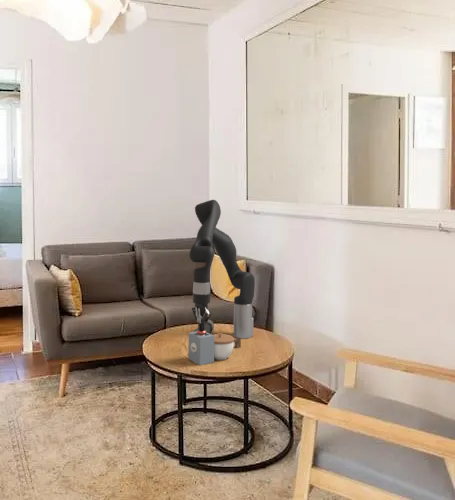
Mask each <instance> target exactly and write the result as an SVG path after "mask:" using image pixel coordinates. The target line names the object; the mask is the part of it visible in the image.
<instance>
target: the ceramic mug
mask: <svg viewBox="0 0 455 500" xmlns="http://www.w3.org/2000/svg"><path fill="white" fill-rule="evenodd" d="M214 329H215V324H214V322H213V321H212V320H211V319H209V320H208V322H205V323H204V330H206V332H207V333H209V334H211V335H213V331H214ZM197 330H198V327H197V328H196V329H194V330H193V331H192V332H197Z"/></svg>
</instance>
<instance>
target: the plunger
mask: <svg viewBox="0 0 455 500" xmlns="http://www.w3.org/2000/svg"><path fill="white" fill-rule="evenodd" d="M197 334H198V336H199V337H200V336H205V334H206V330H204V331H198V330H197Z"/></svg>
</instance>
